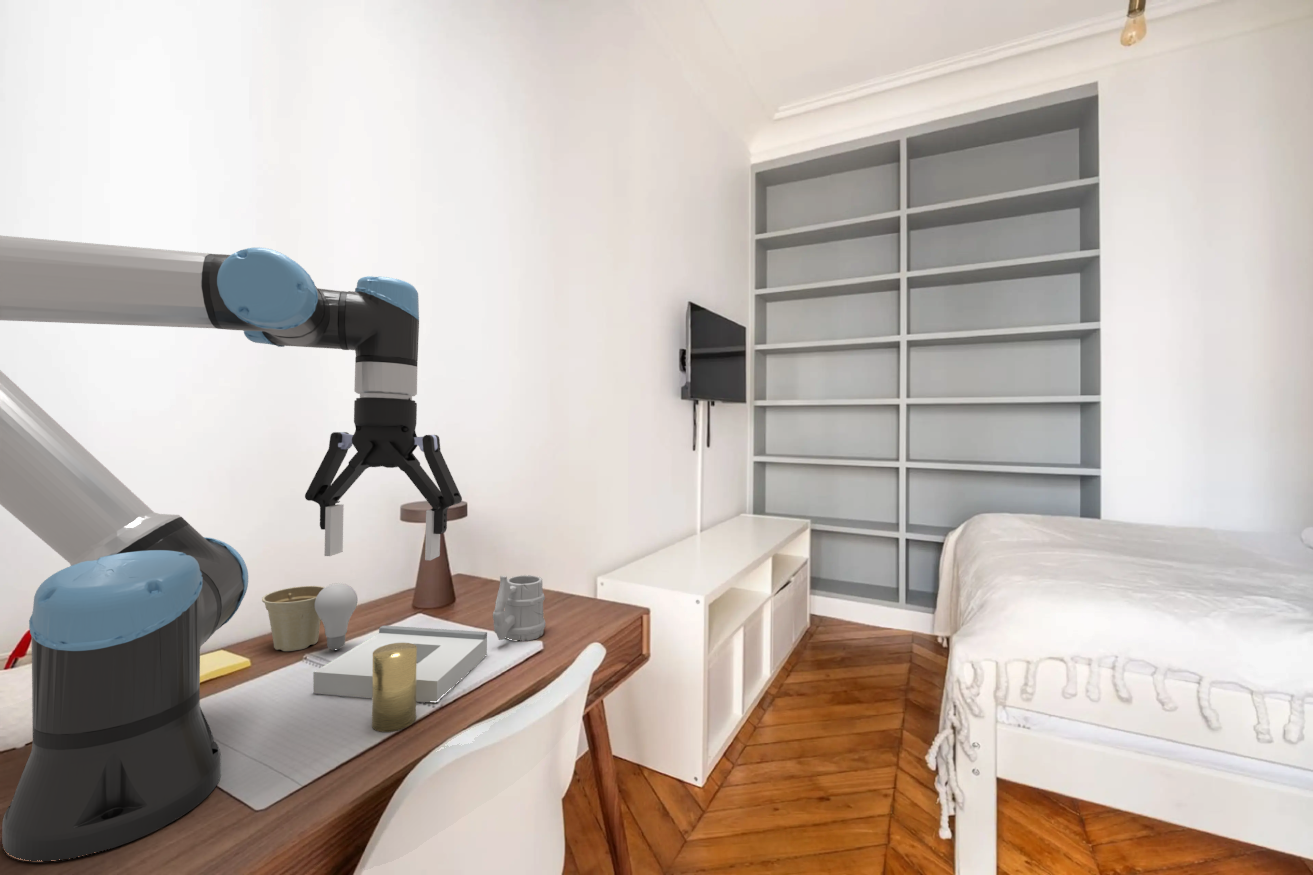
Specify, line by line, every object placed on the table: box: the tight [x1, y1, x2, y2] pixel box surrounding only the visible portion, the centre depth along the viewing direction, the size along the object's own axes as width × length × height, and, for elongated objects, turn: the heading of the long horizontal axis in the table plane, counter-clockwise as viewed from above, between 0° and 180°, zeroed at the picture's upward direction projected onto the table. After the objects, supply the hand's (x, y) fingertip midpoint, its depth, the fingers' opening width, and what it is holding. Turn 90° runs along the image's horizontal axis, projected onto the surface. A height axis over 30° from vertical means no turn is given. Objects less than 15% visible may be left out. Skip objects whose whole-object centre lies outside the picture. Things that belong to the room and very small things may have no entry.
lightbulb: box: [315, 582, 358, 651], centre depth 91 cm, size 6×6×11 cm
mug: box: [492, 574, 546, 642], centre depth 98 cm, size 8×12×12 cm, turn 158°
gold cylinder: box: [371, 643, 418, 733], centre depth 70 cm, size 5×5×9 cm
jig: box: [312, 625, 488, 703], centre depth 84 cm, size 16×18×4 cm
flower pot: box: [261, 585, 326, 652], centre depth 93 cm, size 9×9×9 cm
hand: (382, 556), depth 75 cm, fingers open, 13 cm apart
